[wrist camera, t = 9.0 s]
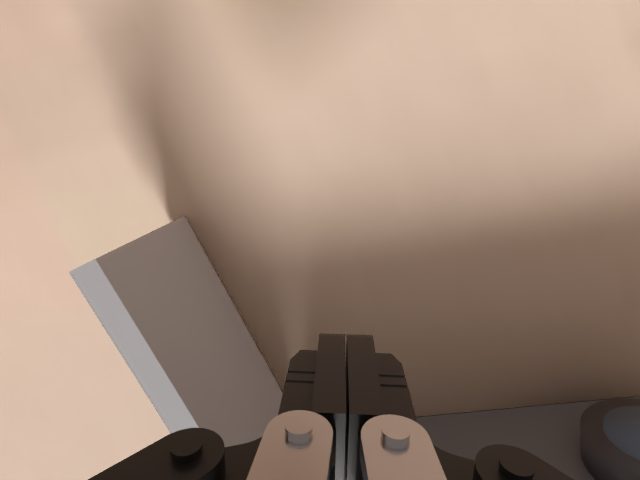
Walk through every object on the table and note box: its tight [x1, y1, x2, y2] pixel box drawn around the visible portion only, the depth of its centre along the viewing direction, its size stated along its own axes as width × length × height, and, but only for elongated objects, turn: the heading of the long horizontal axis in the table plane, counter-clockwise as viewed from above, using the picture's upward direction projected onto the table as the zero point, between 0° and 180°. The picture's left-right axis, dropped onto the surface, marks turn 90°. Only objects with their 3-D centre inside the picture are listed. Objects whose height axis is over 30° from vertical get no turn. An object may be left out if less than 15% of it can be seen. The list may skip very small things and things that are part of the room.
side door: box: [69, 216, 283, 447], centre depth 17 cm, size 12×2×7 cm, turn 26°
